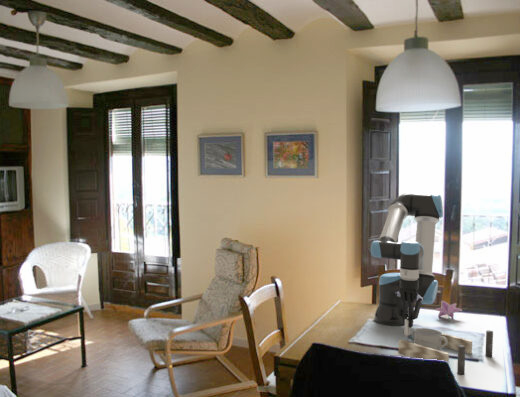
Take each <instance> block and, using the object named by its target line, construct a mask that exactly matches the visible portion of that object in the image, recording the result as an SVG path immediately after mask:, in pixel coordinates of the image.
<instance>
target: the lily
mask: <svg viewBox="0 0 520 397" xmlns="http://www.w3.org/2000/svg"><path fill="white" fill-rule="evenodd" d="M457 304H458V303H456V302H455V303H452V304H449V303H448V302H446V301H445V300H440V307H436V308H434V310H435V311H438V315H437V316H438V317H439V318H440V317H443V316H446V315H447V317H449V318H448V321H449V323H450V322H451V320H450V318H452V319H454V313H458V312H462V311H463V309H461V308H459V307H456V306H457Z"/></svg>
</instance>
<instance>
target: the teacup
mask: <svg viewBox="0 0 520 397" xmlns="http://www.w3.org/2000/svg"><path fill="white" fill-rule="evenodd" d="M413 332H414V335H413V343H415V344H418V345H422V346H425V347H429V348H432V349H436V350H439V351H441V350H442V349H443V348H446V347H445V346H447V344H448V340H447V338H446V337H444V336H442V333H443V332H441V330H440V331H439V330H437V329H433V328H425V327H424V328H423V327H420V328H418V327H417V328H414V329H413ZM442 339H444V341H445V343H444V345H441V340H442Z"/></svg>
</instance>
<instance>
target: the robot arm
mask: <svg viewBox="0 0 520 397" xmlns="http://www.w3.org/2000/svg"><path fill="white" fill-rule="evenodd" d="M443 208H444V207H443V200H442V196H441V195H440V194H439V193H433V192H429V193H428V192H427V193H426V192H405V193H403V194H402V193H401V194H400V195H399V196H397V197H395V199H394V200H392V202H391V203H390V204H389V206H388V209H387V213H388V215H387V218H386V220H385V223H384V225H383V228H382V231H381V233H380V236H379V239H378V240H373V241H372V242H371V245H370V255H371V256H372V257H373V258H377V259H378V258H379V259H387V260H400V261H399V263H400V265H399V272H388V273H384V274H382V275H380V277H379V282H378V305H377V308H376V311H375V313H374V321H375V322H376V323H378V324H382V325H386V326H403V327H404V329H403V332H404V333H403V334H404V336H409V335H411V334H412V328H413V326H414V320H417V319H418V318H419V314H420V310H421V306H422V305H433V304H434V303H435V300H436V298H437V293H438V289H439V287H438V286H439V281H438V280H437V279H436V276H435V275H434V273H433V265H434V264H433V263H434V250H435V248H434V247H435V236H436V224H438V223H439V222H440V219H441V218H443V216H444V209H443ZM408 216H409V217H414V221H415V222H416V231H415V232H416V233H415V241H413V240H404V241H402V242H398V241H397V240H398V238H399V235H400V232H401V229H402V225H403V223H404V220H405V219H406V218H407V217H408Z"/></svg>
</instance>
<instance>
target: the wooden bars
mask: <svg viewBox="0 0 520 397" xmlns="http://www.w3.org/2000/svg"><path fill="white" fill-rule="evenodd" d="M441 333H442V336H444V337H446V338H447V340H448V344H447V346H445V347H444V348H448V349H451V350H455V351H457V370H456V371H457V372H456V373H457V375H460V376H464V375H465V374H466V373H465V370H466V354H469V355H470V354H473V340H470V339H466V338H463V337H458V336H455V335H451V334H448V333H443V332H441ZM485 335H486V336H485V337H486V338H485V354H484V355H485V356H484V357H486V358H492V357H493V348H494V346H493V344H494V343H493V342H494V339H493V338H494V331H493V330H488V329H487V330H486V331H485ZM444 343H445V341H444V339H442V340H441V345H444ZM397 348H398V354H400V355H401V354H402V355H405V356H408V357H411V358H413V359H414V358H415V359H417V358H423V359H437V360H444V361H447V362H449V360H450V358H449V357H450V353H449V352H446V351H442V350H436V349H432V348H429V347H425V346H422V345H418V344H415V343H414V342H411V341H406V340H403V339H398V347H397ZM449 363H450V362H449Z"/></svg>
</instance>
